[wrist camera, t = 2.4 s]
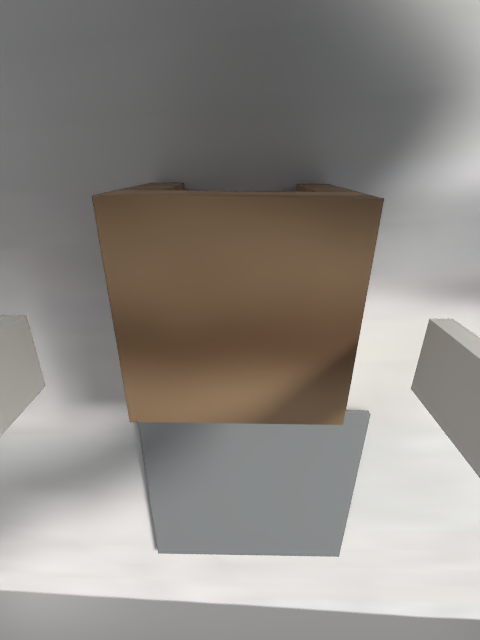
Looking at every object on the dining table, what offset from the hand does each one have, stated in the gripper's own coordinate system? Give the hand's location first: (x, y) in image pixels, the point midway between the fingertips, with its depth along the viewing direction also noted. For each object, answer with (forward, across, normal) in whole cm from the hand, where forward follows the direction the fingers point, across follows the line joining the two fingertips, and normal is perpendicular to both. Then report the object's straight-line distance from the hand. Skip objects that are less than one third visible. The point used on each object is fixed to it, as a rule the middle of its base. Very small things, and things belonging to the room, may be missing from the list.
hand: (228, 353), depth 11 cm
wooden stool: (+9, 0, 0) cm, 9 cm away
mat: (+9, +1, -18) cm, 20 cm away
